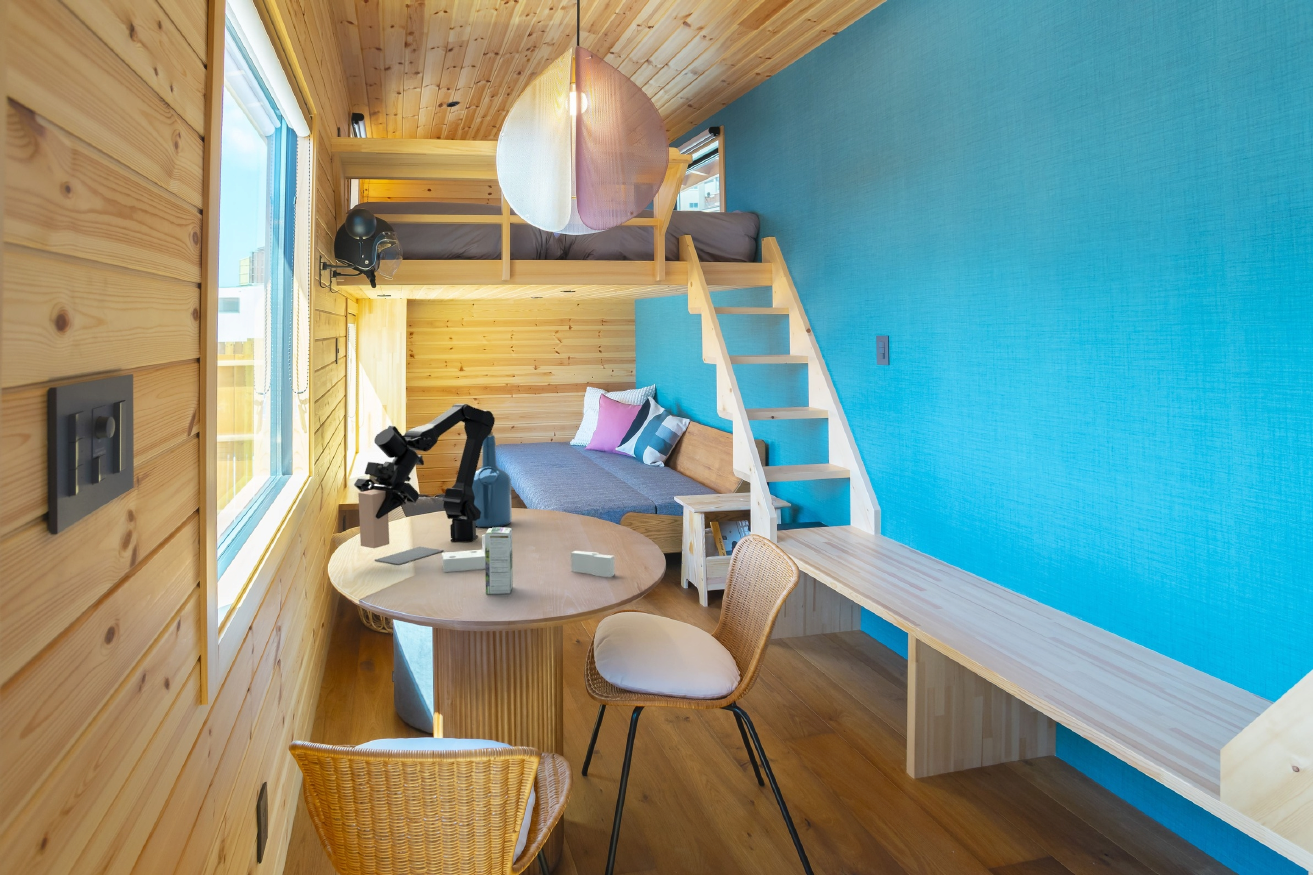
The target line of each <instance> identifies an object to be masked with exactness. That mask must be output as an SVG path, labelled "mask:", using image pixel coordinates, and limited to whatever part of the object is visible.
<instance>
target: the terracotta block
mask: <svg viewBox="0 0 1313 875" xmlns="http://www.w3.org/2000/svg"><path fill="white" fill-rule="evenodd" d="M385 493H386V491H381V490H369V491H364V492H361V491H359V492H357V494H358V496H357V497H358V511H359V512H358V513H359V514H358V517H359V535H360V536H359V537H360V547H363V548H369V549H377V548H381V547H385V546H388V545H390V528H389V526H390V525H389V513H388V514H386V515H384V516H383V517H381V518H380V519H377V518H376V514H377V512H378V510H379V508H380V506H381V505H382V503H383V501H384V499H385Z"/></svg>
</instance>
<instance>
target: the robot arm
mask: <svg viewBox="0 0 1313 875" xmlns="http://www.w3.org/2000/svg"><path fill="white" fill-rule="evenodd" d="M461 422H462V424H463V426H464V427H463V428H464V432H465V435H466V439H465V444H464V447H463V452H462V456H461V459H460V463H459V468H458V470H457V474H456V475H457V476H456V479H455V483H454V484H453V486H452V487H446V488H445V491H444V493H445V494H444V497H443V499H442V502H443V509H444V511H445V514H446V517H447V519H448V520H451V524H450V525H449V527H450V528H449V529H450V538H451V539H450V542H458V543H459V542H461V543H463V542H464V543H465V542H466V543H469V542H474V541H475V540H476V539H477V538H478V537H479V535H477V527H476V520H477V519H480V515H481V511H480V510H479V509H478V508H477V507H476V506H475V505H474V500H475V496H474V493H473V489H472V485H473V481H474V477H475V473H476V471H477V470H478V469H477V468H478V466H479V460H480V457H481V453H482V447H483V446H482V445H483V441H484V440H485V439H486V438H487V437H488V435H489V434H490V433H491V431H492V430H493V428H494V425H495V422H496V418H495V416H494V414H493V413H492V412H491V411H490V410H483V409H480V408H477V407H475V406H474V407H473V406H472V405H469V403H454V404H452V406H451V407H450V408H449V409H447V410H446V411H445V412H442V414H439V416H437V417H436V418H433V420H431V421H429V422H427V423H426V424H423V425H419V426H416V427H413V428H410V429H409V430H407V431H406V432H405V433H404V434H402V433H401V432H400V431H399V429H398V428H397V426H396V425H388V427H387V428H385V429H383V430H381V431H380V432H379V433H377V434H376V435H375V437H374V444H375V445H376V446H377V447H378V448H379V449H380V450H381V451H382V452H383V453H384V454H385V455H386V457H387V458H389V459H392V458H393V459H392V461H384V462H383V463H380V462H374V461H373V462H372V461H367V464H366V467H365V471H364V475H369V476H371V477H374V478H373V479H374V481H375V482H374V481H373V479H371V478H366V477H359V478H357V480H356V481H355V482H354V484H353V485H354V487H355V488H356V489H357V490H359V492H364V491H369V490H381V491H386V493H385V499H384V501H383V503H382V505H381V506H380V508H379V510H378V512H377V514H376V518H377V519H380V518H381V517H383V516H384V515H386V514H388V515H389V513H391V512H392V511H394V510H396V509H398V508H400V507H401V506H404V505H407V503H408V504H416V503H417V501H418V500H419V498H420V496H419V495H420V494H419V493H420V492H418V491H417V490H416V488H414V486H413V485H412V484H411V483H409V482H410V481H411V480H412V478H411V477H410V475H411V473H412V472H413V470H414V468H415V467H416V466H417V465H418V466H424V465H425V462H424V459H423V456H424V455H422V454H421V455H420V454H418V453H417V452H428V451H431V450H432V448H434V446H435V445H436V444H437V442H438V440H439V438H440V436H442V435H443V434H444V433H446V432H448V431H449V430H451V429H452V428H454V427H455V426H457V424H459V423H461ZM492 432H493V431H492ZM377 483H378V484H377Z"/></svg>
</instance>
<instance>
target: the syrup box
mask: <svg viewBox="0 0 1313 875" xmlns="http://www.w3.org/2000/svg"><path fill="white" fill-rule="evenodd" d="M484 535H485V571H484V572H485V576H484V577H485V594H486V595H502V594H503V595H504V594H511V592H512V589H513V585H514V584H513V582H514V581H513V580H514V579H513V576H514V575H513V571H514V569H513V529H512V528H510V527H503V526H500V527H492V528H487V531H486V532H485V534H484Z"/></svg>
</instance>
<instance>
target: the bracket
mask: <svg viewBox="0 0 1313 875" xmlns="http://www.w3.org/2000/svg"><path fill="white" fill-rule="evenodd" d="M481 544H482V545H481V546H482V548H481V549H474V550H459V551H448V552H447V551H445V552H441V563H442V569H443V570H442V571H443V573H447V572H449V573H450V572H461V571H473V570H474V571H475V570H483V569H485V534H482V535H481Z"/></svg>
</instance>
